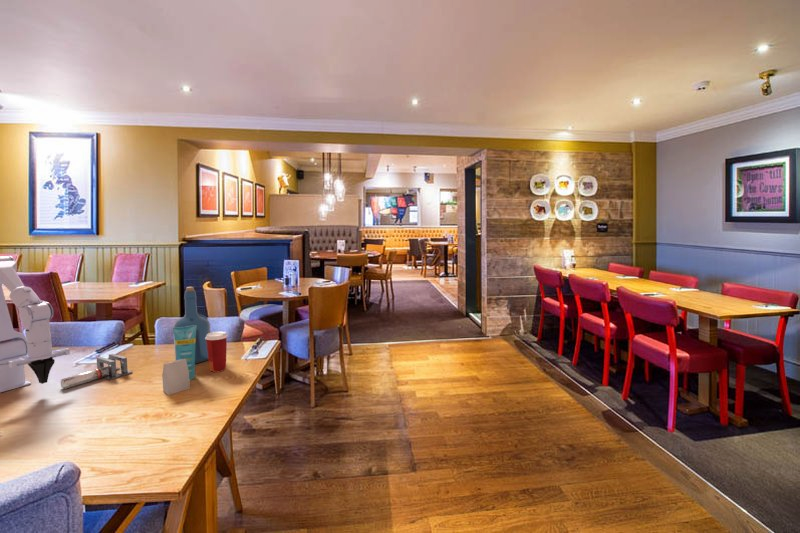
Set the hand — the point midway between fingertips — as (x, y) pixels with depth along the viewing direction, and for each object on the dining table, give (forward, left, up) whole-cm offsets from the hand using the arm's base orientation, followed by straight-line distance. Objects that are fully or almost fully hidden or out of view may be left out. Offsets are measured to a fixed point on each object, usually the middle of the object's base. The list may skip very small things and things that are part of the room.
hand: (43, 382), depth 125 cm
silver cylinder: (+12, 0, -4) cm, 13 cm away
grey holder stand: (+18, 0, -4) cm, 18 cm away
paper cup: (+41, -30, -4) cm, 51 cm away
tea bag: (+22, -34, -4) cm, 41 cm away
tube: (+30, -28, -4) cm, 41 cm away
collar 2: (+22, 0, -4) cm, 22 cm away
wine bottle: (+44, -12, -4) cm, 46 cm away
